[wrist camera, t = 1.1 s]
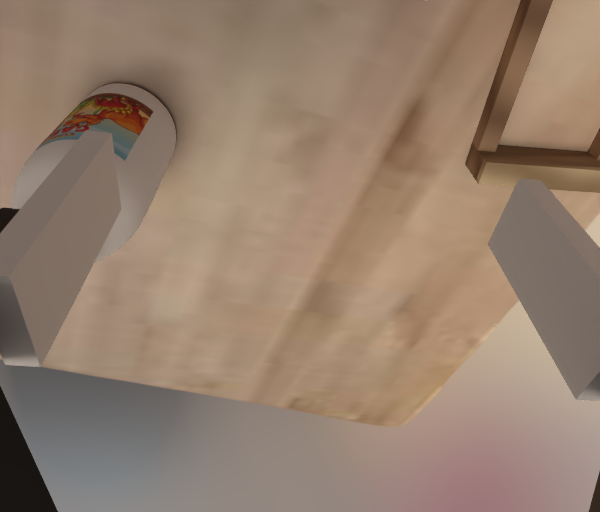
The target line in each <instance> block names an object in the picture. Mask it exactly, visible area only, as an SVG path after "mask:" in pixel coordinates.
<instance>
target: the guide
mask: <svg viewBox="0 0 600 512" xmlns="http://www.w3.org/2000/svg"><path fill="white" fill-rule="evenodd" d="M552 1H553V0H521V3H520V5H519V8H518V11H517V14H516V17H515V20H514V23H513V26H512V29H511V32H510V35H509V38H508V41H507V43H506V46H505V49H504V52H503V55H502V58H501V61H500V64H499V67H498V70H497V73H496V76H495V79H494V81H493V84H492V87H491V90H490V93H489V96H488V99H487V102H486V105H485V108H484V111H483V114H482V117H481V119H480V122H479V125H478V128H477V131H476V134H475V137H474V140H473V143H472V146H471V149H470V152H469V155H468V157H467V160H466V163H465V164H466V166H467V167H468V169H469V170H470V172H471V174H472V175H473V177H474V178H475V180H476V181H477V183H478V184H485V185H499V186H512V187H515V186H516V184H517V182H518V180H519V178H524V179H533V180H541V181H542V182H543V183H544V184H545V186H546V187H547V188H548V189H554V190H568V191H582V192H596V193H600V130H599V131H598V133H597V135H596V137H595V139H594V141H593V143H592V145H591V147H590V149H589V151H588V152H581V151H568V150H555V149H542V148H530V147H517V146H504V145H498V144H499V141H500V138H501V136H502V133H503V130H504V128H505V125H506V122H507V120H508V117H509V115H510V112H511V109H512V107H513V104H514V101H515V99H516V96H517V94H518V91H519V88H520V86H521V83H522V80H523V78H524V75H525V72H526V70H527V67H528V65H529V62H530V59H531V57H532V54H533V51H534V49H535V46H536V43H537V41H538V38H539V36H540V33H541V30H542V28H543V25H544V22H545V20H546V17H547V14H548V12H549V9H550V7H551V4H552Z"/></svg>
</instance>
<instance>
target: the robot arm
mask: <svg viewBox="0 0 600 512" xmlns="http://www.w3.org/2000/svg"><path fill="white" fill-rule="evenodd" d="M120 211H121V201H120V193H119V185H118V178H117V170H116V162H115V154H114V146H113V138H112V133H106V132H97V131H88V130H86V131H85V132H84V133H83V134H82V135H81V137H80V138H79V139H78V140H77V141H76V143H75V144H74V145H73V146H72V147H71V149H70V150H69V151H68V152H67V153H66V155H65V156H64V157H63V158H62V159H61V161H60V162H59V163H58V164H57V165H56V167H55V168H54V169H53V170H52V172H51V173H50V174H49V175H48V176H47V178H46V179H45V180H44V181H43V182H42V184H41V185H40V186H39V187H38V188H37V190H36V191H35V192H34V193H33V194H32V196H31V197H30V198H29V199H28V200H27V202H26V203H25V204H24V205H23V206H22V208H21V209H12V208H2V209H0V353H1V356H2V358H3V361H4V363H5V365H18V366H19V365H20V366H35V367H41V365H42V363H43V361H44V359H45V357H46V355H47V353H48V351H49V349H50V347H51V346H52V344H53V342H54V340H55V338H56V336H57V334H58V332H59V330H60V328H61V326H62V324H63V322H64V320H65V318H66V316H67V314H68V312H69V311H70V309H71V307H72V305H73V303H74V301H75V299H76V297H77V295H78V293H79V291H80V289H81V287H82V285H83V283H84V281H85V279H86V277H87V275H88V274H89V272H90V270H91V268H92V266H93V264H94V262H95V260H96V258H97V256H98V254H99V252H100V250H101V248H102V246H103V244H104V242H105V240H106V239H107V237H108V235H109V233H110V231H111V229H112V227H113V225H114V223H115V221H116V219H117V217H118V215H119V213H120ZM488 245H489V247H490V249H491V250H492V252H493V254H494V256H495V257H496V259H497V261H498V263H499V265H500V266H501V268H502V270H503V272H504V273H505V275H506V277H507V279H508V280H509V282H510V284H511V286H512V288H513V289H514V291H515V293H516V295H517V296H518V298H519V300H520V302H521V303H522V305H523V307H524V309H525V311H526V312H527V314H528V316H529V318H530V319H531V321H532V323H533V325H534V326H535V328H536V330H537V332H538V333H539V335H540V337H541V339H542V341H543V342H544V344H545V346H546V348H547V349H548V351H549V353H550V355H551V356H552V358H553V360H554V362H555V364H556V365H557V367H558V369H559V371H560V373H561V374H562V376H563V378H564V380H565V381H566V383H567V385H568V387H569V388H570V390H571V392H572V394H573V395H574V397H575V399H576V400H590V401H600V248H599V247H598V245H597V244H596V243H595V242H594V241H593V240H592V239H591V237H590V236H589V235H588V234H587V233H586V232H585V230H584V229H583V228H582V227H581V226H580V225H579V224H578V222H577V221H576V220H575V219H574V218H573V217H572V215H571V214H570V213H569V212H568V211H567V210H566V209H565V207H564V206H563V205H562V204H561V203H560V202H559V201H558V199H557V198H556V197H555V196H554V195H553V194H552V192H551V191H550V190H549V189H548V188H547V187H546V186H545V184H544V183H543V182H542V181H541V180H533V179H524V178H519V180H518V182H517V184H516V186H515V188H514V190H513V192H512V194H511V197H510V199H509V201H508V203H507V205H506V207H505V209H504V211H503V213H502V215H501V217H500V220H499V222H498V224H497V226H496V228H495V230H494V232H493V234H492V236H491V238H490V241H489V243H488ZM0 512H58V511H57V509H56V507H55V505H54V502H53V500H52V498H51V496H50V494H49V491H48V489H47V487H46V485H45V483H44V481H43V478H42V476H41V475H40V472H39V470H38V468H37V465H36V463H35V461H34V459H33V457H32V454H31V452H30V450H29V448H28V446H27V443H26V441H25V439H24V437H23V435H22V433H21V430H20V428H19V426H18V424H17V422H16V419H15V417H14V415H13V413H12V411H11V408H10V406H9V404H8V402H7V400H6V398H5V395H4V393H3V391H2V389H1V387H0ZM589 512H600V472H599V476H598V480H597V484H596V487H595V491H594V494H593V498H592V502H591V506H590V509H589Z"/></svg>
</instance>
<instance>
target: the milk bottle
mask: <svg viewBox="0 0 600 512" xmlns="http://www.w3.org/2000/svg"><path fill="white" fill-rule="evenodd" d="M86 130H88V131H97V132H106V133H112V138H113V146H114V154H115V162H116V170H117V178H118V185H119V193H120V201H121V211H120V213H119V215H118V217H117V219H116V221H115V223H114V225H113V227H112V229H111V231H110V233H109V235H108V237H107V239H106V240H105V242H104V244H103V246H102V248H101V250H100V252H99V254H98V256H97V258H96V260H95V262H97V261H99V260H101V259H103V258H105V257H107V256H109V255H110V254H112V253H114V252H115V251H117V250H118V249H119V248H121V247H122V246H123V245H124V244H125V243H126V242H127V241H128V240H129V239H130V238H131V237H132V236H133V234H134V233H135V232H136V230H137V229H138V227H139V226H140V224H141V222H142V220H143V218H144V216H145V215H146V213H147V211H148V209H149V206H150V204H151V202H152V200H153V198H154V196H155V193H156V191H157V189H158V187H159V185H160V182H161V180H162V178H163V175H164V173H165V171H166V169H167V166H168V164H169V162H170V159H171V157H172V155H173V152H174V149H175V145H176V129H175V125H174V122H173V119H172V117H171V115H170V114H169V112H168V110H167V109H166V108H165V106H164V105H163V104H162V103H161V102H160V101H159V100H158V99H157V98H156V97H154V96H153V95H152V94H151V93H149V92H147V91H145V90H143V89H142V88H139V87H136V86H133V85H129V84H122V83H115V84H108V85H104V86H101V87H99V88H97V89H96V90H94V91H93V92H92V93H91V94H89V95H88V96H87V97H86V98H85V99H84V100H83V101H82V102H81V103H80V104H79V105H78V106H77V107H76V108H75V109H74V110H73V111H72V112H71V113H70V114H69V115H68V116H67V117H66V118H65V119H64V120H63V121H62V122H61V124H60V125H59V126H58V127H57V128H56V129H55V130H54V131H53V132H52V133H51V134H50V135H49V136H48V137H47V138H46V139H45V140H44V141H43V143H42V144H41V145H40V146H39V147H38V148H37V149H36V151H35V152H34V153H33V154H32V155H31V157H30V158H29V159H28V160H27V162H26V163H25V165H24V167H23V168H22V170H21V172H20V174H19V176H18V178H17V181H16V184H15V188H14V193H13V203H12V209H21V208H22V206H23V205H24V204H25V203H26V202H27V200H28V199H29V198H30V197H31V196H32V194H33V193H34V192H35V191H36V190H37V188H38V187H39V186H40V185H41V184H42V182H43V181H44V180H45V179H46V178H47V176H48V175H49V174H50V173H51V172H52V170H53V169H54V168H55V167H56V165H57V164H58V163H59V162H60V161H61V159H62V158H63V157H64V156H65V155H66V153H67V152H68V151H69V150H70V149H71V147H72V146H73V145H74V144H75V143H76V141H77V140H78V139H79V138H80V137H81V135H82V134H83V133H84V132H85V131H86ZM95 262H94V263H95Z"/></svg>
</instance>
